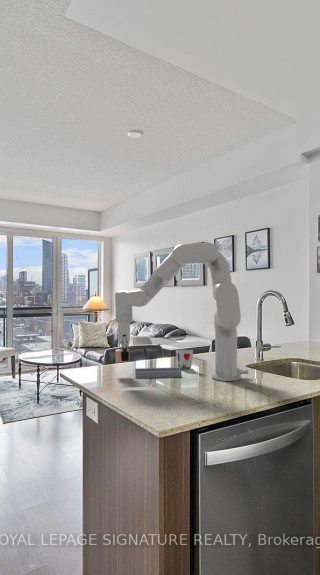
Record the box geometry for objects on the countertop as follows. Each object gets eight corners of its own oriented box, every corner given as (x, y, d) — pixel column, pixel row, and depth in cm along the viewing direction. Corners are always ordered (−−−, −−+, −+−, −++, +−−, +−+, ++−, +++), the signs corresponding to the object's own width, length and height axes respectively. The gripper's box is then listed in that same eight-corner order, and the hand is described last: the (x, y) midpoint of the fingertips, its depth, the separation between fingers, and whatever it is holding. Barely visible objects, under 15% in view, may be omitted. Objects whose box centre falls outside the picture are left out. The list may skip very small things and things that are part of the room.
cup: (174, 372, 180) (174, 351, 180) (178, 369, 188) (178, 349, 188) (191, 373, 177) (190, 352, 178) (194, 370, 185) (194, 349, 185)
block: (129, 349, 169) (115, 349, 169) (129, 350, 164) (115, 351, 164) (129, 360, 169) (116, 360, 169) (129, 362, 164) (115, 362, 164)
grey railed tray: (179, 375, 173) (178, 367, 173) (181, 379, 164) (181, 371, 164) (135, 376, 171) (135, 368, 171) (135, 380, 162) (135, 372, 163)
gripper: (116, 317, 175) (117, 357, 175) (114, 320, 158) (115, 363, 158) (132, 317, 176) (133, 356, 175) (132, 319, 159) (133, 362, 158)
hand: (125, 359), depth 167 cm, fingers closed on block, 5 cm apart
